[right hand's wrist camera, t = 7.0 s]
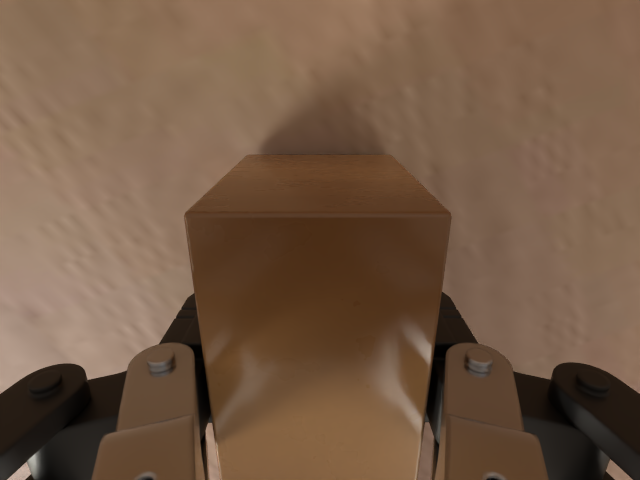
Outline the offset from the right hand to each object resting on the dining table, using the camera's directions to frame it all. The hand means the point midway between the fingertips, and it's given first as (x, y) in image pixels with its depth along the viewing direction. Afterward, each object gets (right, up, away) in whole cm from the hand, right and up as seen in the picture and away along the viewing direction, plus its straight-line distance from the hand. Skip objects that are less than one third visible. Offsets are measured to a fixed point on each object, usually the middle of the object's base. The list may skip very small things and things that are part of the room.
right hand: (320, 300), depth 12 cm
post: (0, -29, +13) cm, 32 cm away
